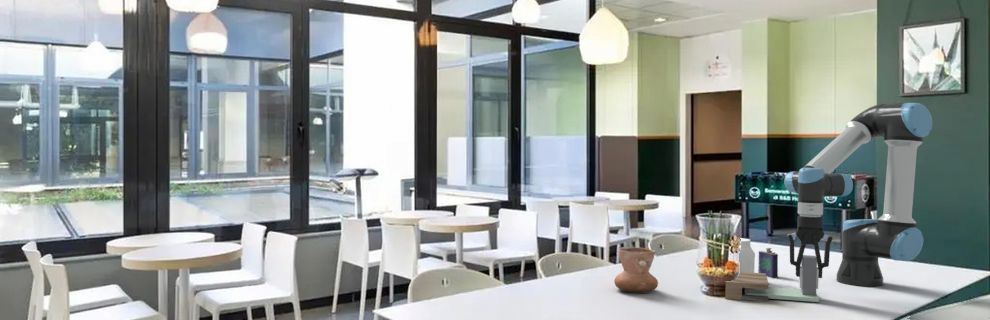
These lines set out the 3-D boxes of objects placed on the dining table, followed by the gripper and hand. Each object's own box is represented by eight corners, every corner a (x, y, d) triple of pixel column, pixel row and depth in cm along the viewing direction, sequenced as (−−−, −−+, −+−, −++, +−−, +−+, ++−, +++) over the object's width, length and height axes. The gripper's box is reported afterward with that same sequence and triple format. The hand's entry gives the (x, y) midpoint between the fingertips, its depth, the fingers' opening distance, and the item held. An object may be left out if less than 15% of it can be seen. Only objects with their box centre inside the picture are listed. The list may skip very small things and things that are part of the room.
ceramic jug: (664, 296, 230) (665, 252, 230) (620, 296, 230) (621, 252, 230) (649, 286, 248) (650, 245, 248) (608, 285, 248) (609, 245, 248)
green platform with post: (744, 288, 242) (745, 250, 241) (814, 293, 235) (815, 254, 235) (745, 296, 230) (745, 256, 229) (819, 302, 223) (820, 260, 222)
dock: (725, 286, 247) (726, 270, 247) (765, 289, 243) (766, 273, 243) (725, 298, 228) (725, 281, 228) (768, 301, 224) (768, 284, 224)
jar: (730, 283, 253) (731, 241, 253) (716, 278, 262) (717, 237, 262) (759, 282, 256) (760, 240, 255) (744, 277, 265) (745, 237, 265)
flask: (756, 274, 272) (757, 246, 271) (762, 273, 273) (763, 245, 272) (773, 278, 263) (774, 249, 263) (780, 278, 264) (780, 249, 264)
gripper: (782, 215, 228) (781, 287, 228) (841, 217, 222) (839, 291, 223) (781, 213, 235) (779, 283, 236) (837, 215, 230) (835, 287, 230)
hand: (808, 287), depth 229 cm, fingers closed on green platform with post, 4 cm apart
